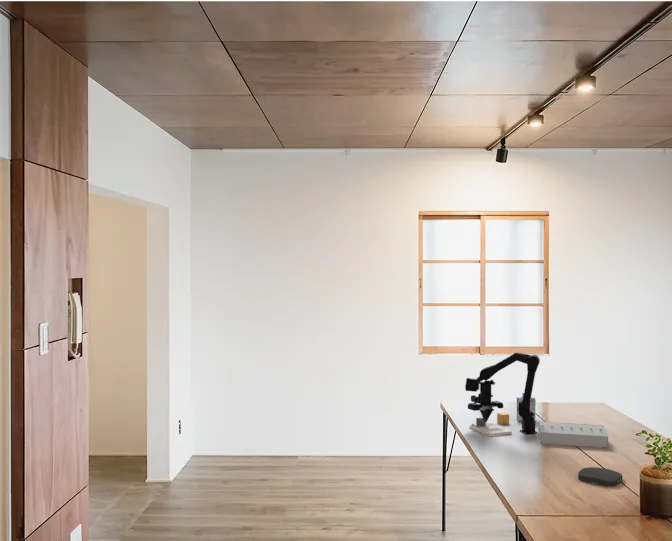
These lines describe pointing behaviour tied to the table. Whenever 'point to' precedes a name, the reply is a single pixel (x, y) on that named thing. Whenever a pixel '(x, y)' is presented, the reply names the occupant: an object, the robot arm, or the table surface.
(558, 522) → the table surface
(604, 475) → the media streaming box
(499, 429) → the board
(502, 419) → the cap
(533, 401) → the ink cartridge box
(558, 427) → the warehouse
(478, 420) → the block
